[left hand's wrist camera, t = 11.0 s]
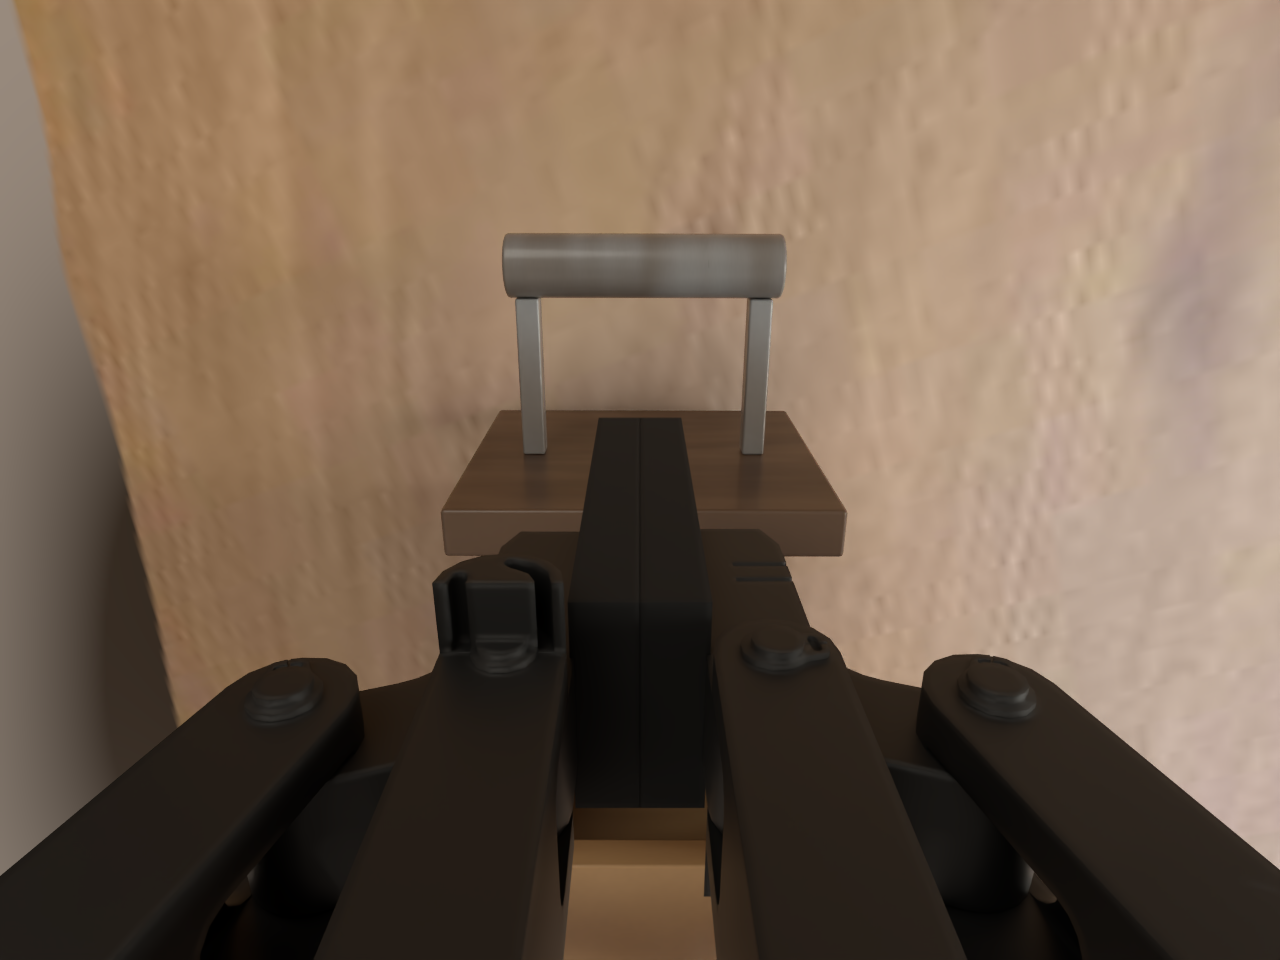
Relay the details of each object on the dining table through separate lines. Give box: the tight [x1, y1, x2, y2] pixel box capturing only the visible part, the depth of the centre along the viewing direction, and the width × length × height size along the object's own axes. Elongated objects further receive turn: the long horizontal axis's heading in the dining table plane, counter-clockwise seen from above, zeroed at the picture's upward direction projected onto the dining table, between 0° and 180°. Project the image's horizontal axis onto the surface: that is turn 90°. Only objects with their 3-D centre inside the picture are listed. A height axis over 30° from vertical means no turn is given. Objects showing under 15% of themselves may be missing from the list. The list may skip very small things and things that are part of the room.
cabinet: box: [563, 840, 717, 960], centre depth 28 cm, size 16×11×10 cm, turn 0°
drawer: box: [441, 233, 847, 840], centre depth 23 cm, size 21×9×8 cm, turn 0°
